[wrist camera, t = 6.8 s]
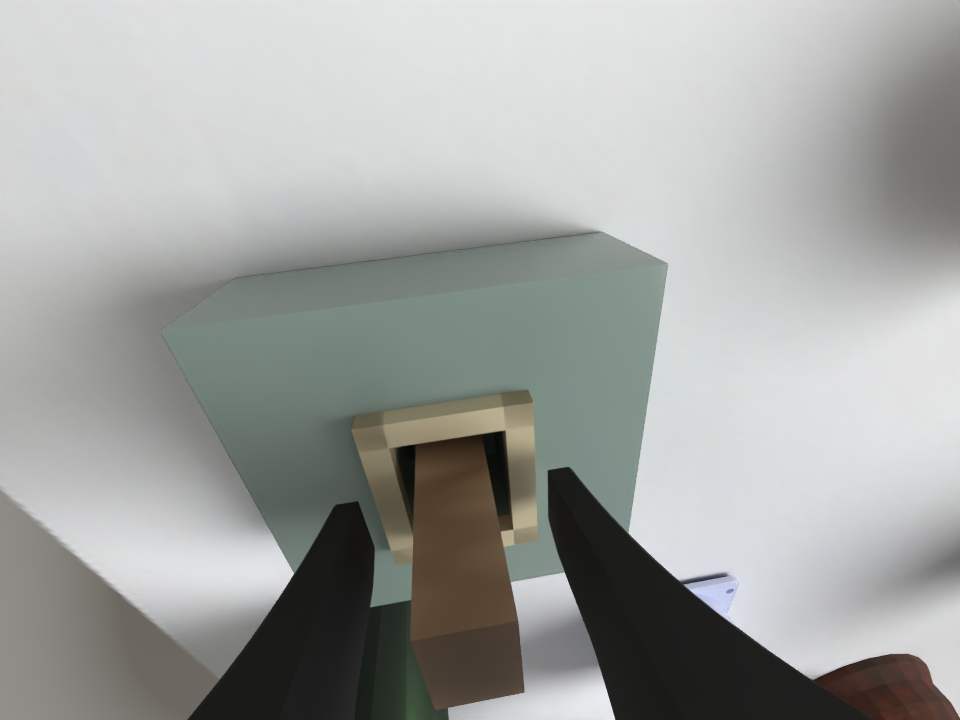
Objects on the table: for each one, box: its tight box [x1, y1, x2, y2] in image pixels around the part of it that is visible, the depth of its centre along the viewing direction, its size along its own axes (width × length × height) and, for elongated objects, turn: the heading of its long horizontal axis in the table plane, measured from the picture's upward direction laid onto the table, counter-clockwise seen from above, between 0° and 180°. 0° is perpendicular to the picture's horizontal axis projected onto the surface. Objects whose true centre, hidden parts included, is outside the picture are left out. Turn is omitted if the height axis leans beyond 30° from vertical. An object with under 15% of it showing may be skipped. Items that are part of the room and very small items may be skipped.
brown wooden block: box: [410, 434, 524, 710], centre depth 11 cm, size 2×3×8 cm, turn 6°
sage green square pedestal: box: [160, 232, 668, 607], centre depth 14 cm, size 12×12×5 cm
